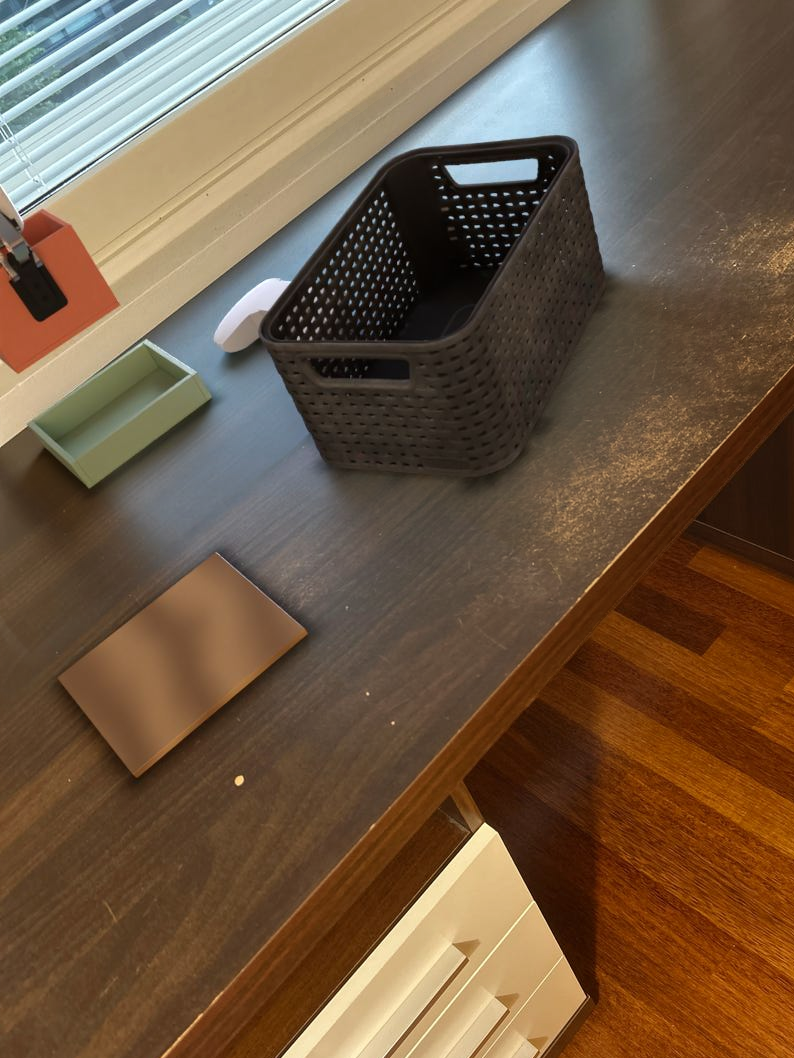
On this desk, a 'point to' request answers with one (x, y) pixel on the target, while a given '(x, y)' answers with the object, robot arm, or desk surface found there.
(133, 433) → the green bin
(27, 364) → the coral bin
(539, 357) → the storage bin
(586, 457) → the desk surface
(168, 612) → the metal plate
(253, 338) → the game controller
